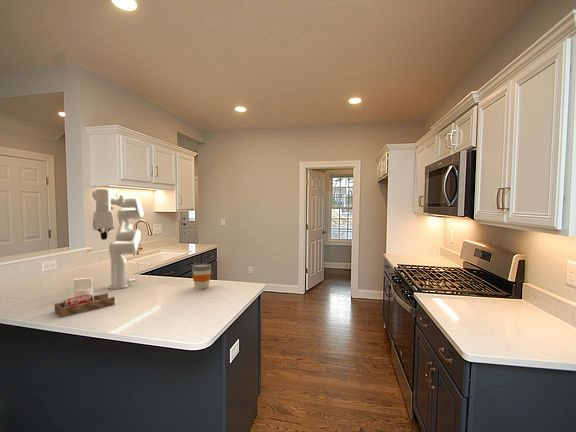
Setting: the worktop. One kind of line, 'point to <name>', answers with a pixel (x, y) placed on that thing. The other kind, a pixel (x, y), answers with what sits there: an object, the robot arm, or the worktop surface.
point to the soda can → (78, 300)
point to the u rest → (85, 305)
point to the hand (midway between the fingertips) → (104, 239)
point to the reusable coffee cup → (201, 275)
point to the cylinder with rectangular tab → (83, 286)
